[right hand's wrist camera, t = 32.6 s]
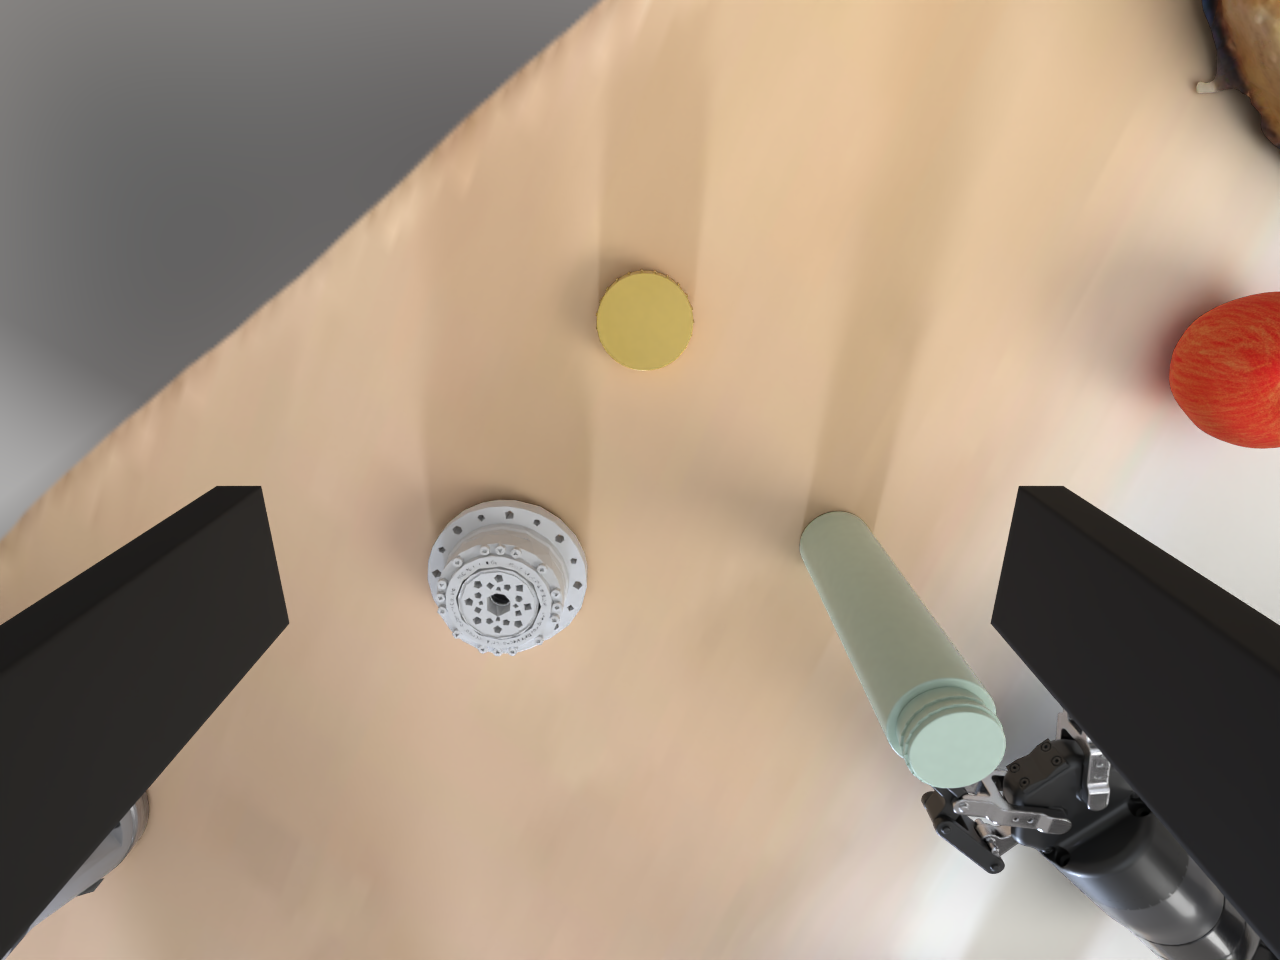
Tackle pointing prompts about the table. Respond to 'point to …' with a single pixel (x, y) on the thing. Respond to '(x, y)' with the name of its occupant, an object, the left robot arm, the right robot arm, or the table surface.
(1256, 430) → the apple
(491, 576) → the mechanical component
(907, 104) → the table surface
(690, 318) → the lid
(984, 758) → the jar
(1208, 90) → the bread
